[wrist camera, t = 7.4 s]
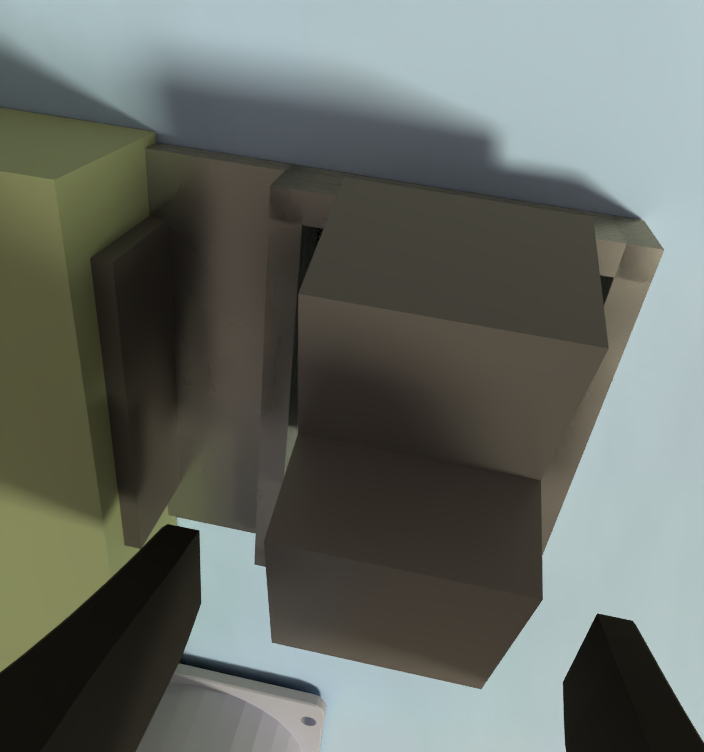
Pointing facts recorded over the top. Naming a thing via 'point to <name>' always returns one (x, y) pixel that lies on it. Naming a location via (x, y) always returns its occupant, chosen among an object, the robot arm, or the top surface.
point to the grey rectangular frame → (280, 323)
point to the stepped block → (429, 426)
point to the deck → (79, 367)
